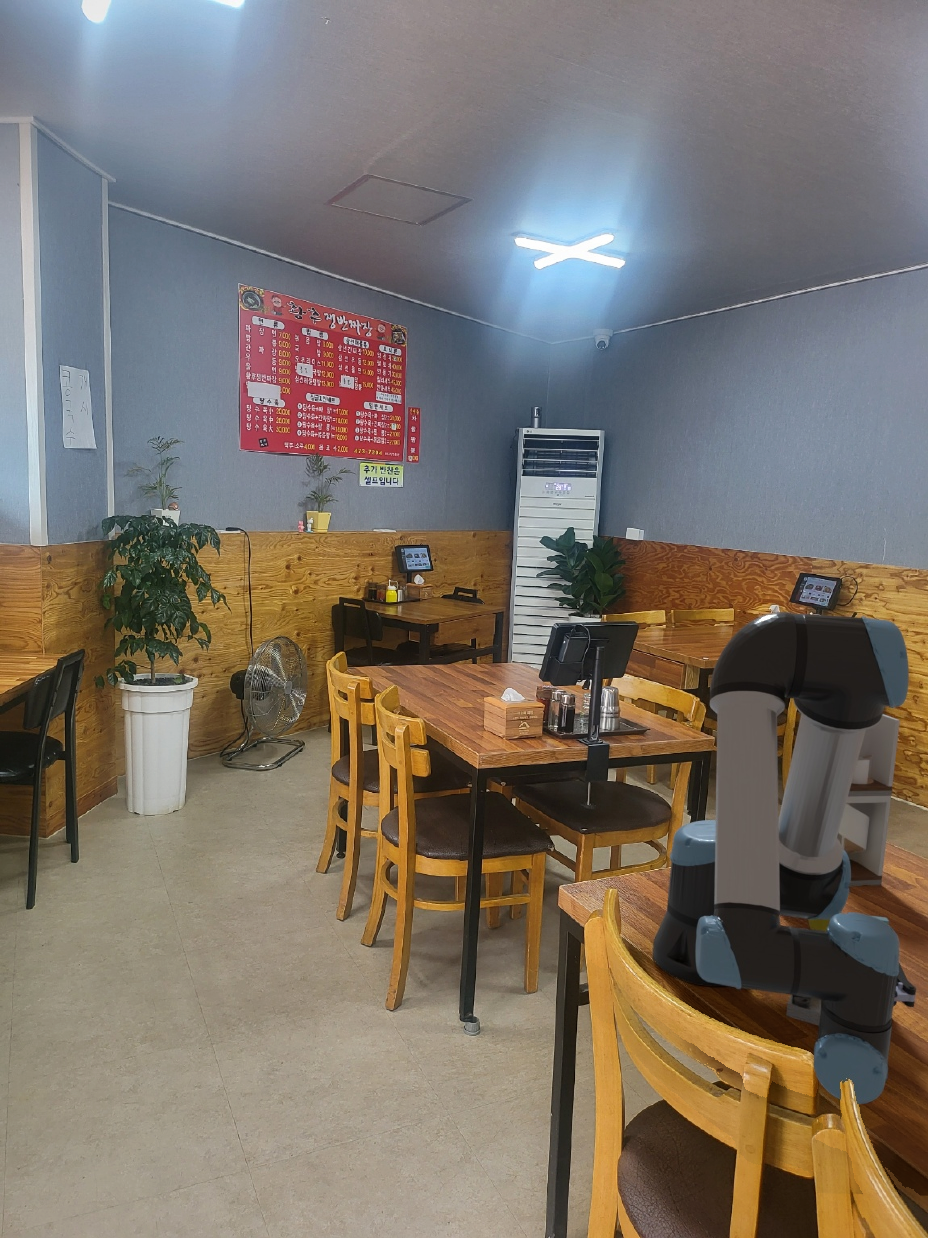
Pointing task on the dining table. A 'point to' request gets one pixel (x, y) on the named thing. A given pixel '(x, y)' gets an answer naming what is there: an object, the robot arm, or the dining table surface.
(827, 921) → the lemon
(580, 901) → the dining table surface
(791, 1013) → the bolted mounting base
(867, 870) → the white shelving unit
